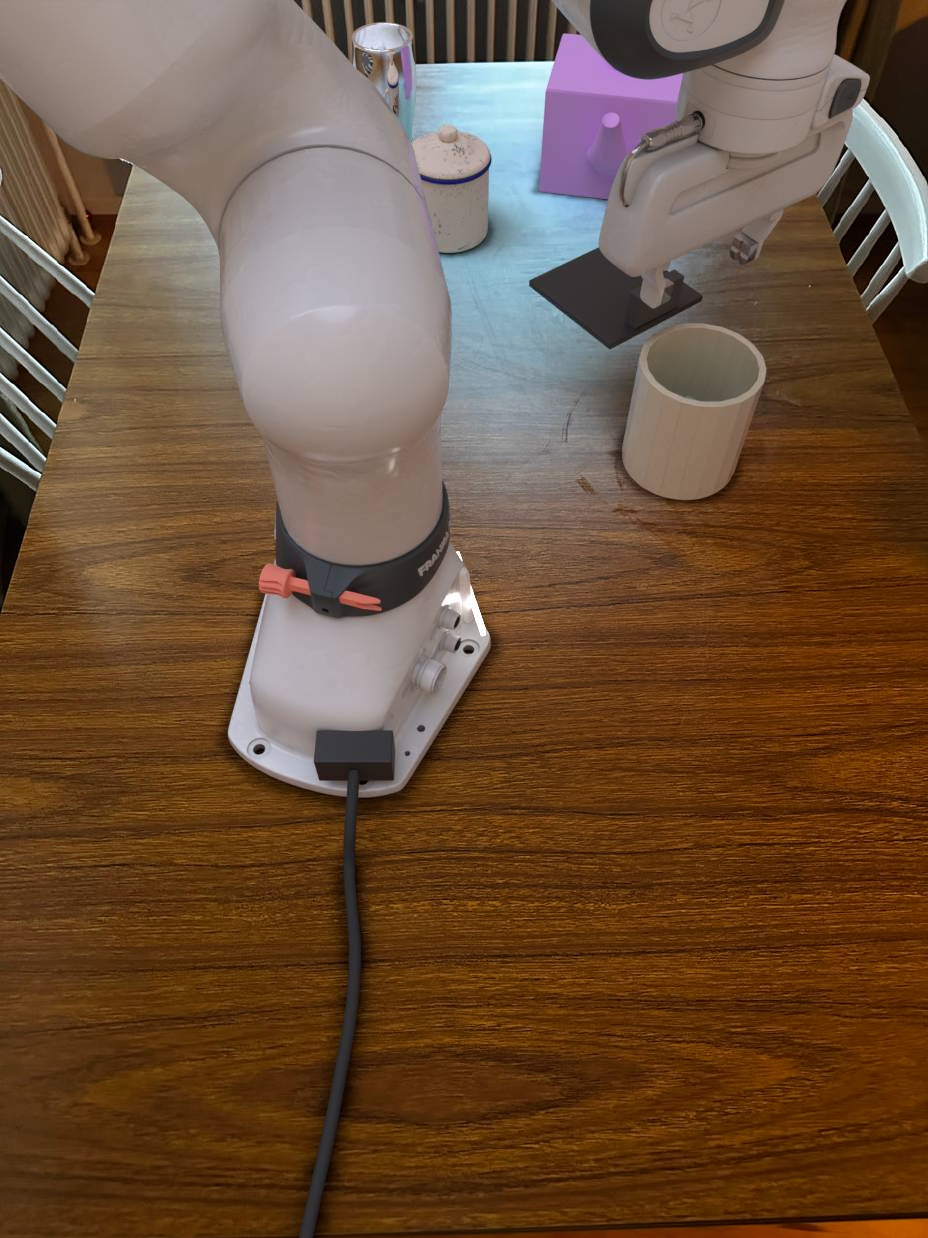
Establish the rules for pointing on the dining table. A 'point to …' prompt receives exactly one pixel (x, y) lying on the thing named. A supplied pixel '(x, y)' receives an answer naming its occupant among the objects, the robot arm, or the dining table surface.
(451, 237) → the teacup with lid
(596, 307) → the slider lid
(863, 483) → the dining table surface
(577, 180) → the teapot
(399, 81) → the silver metal cup
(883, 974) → the dining table surface
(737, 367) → the beige cylindrical container
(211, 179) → the robot arm
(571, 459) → the dining table surface
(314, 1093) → the dining table surface
